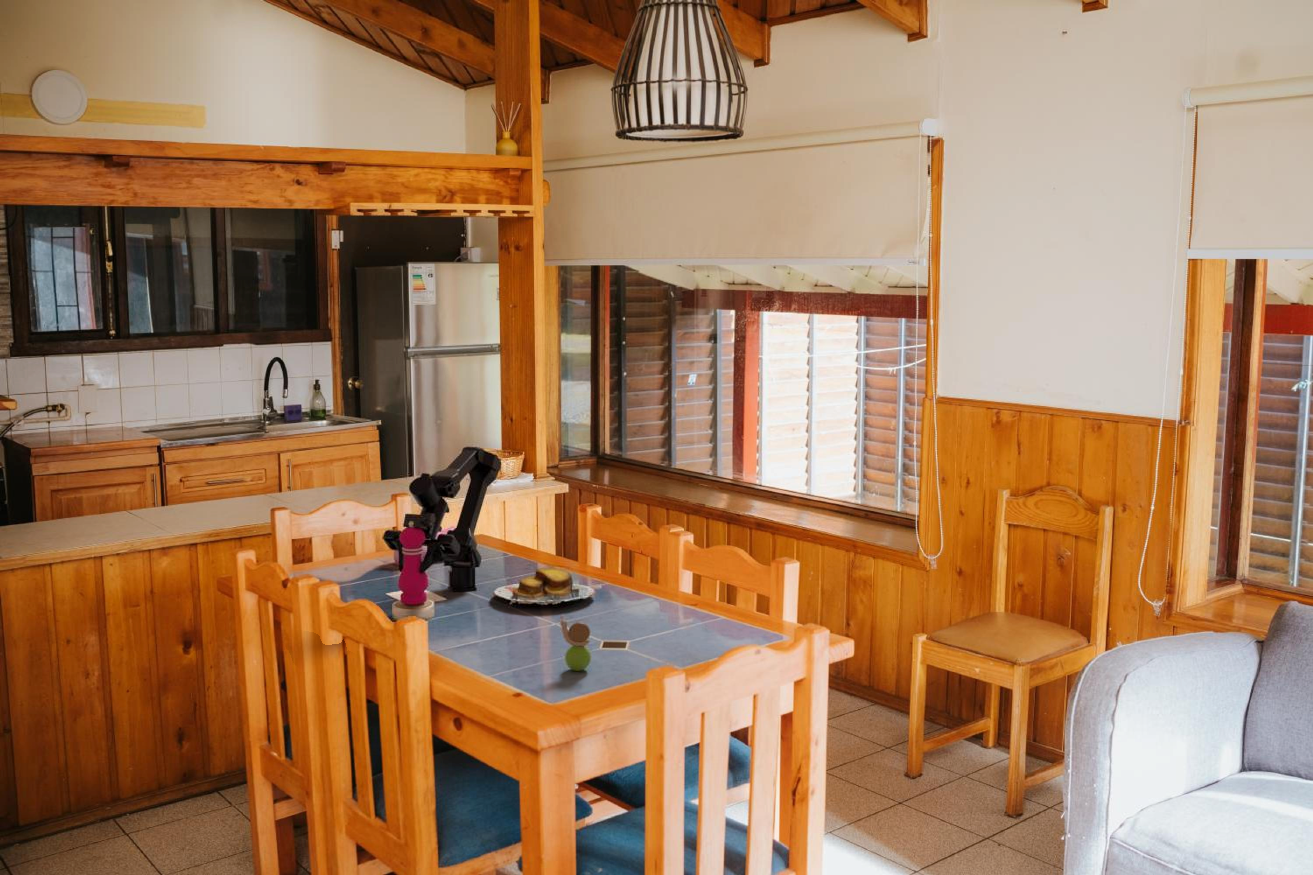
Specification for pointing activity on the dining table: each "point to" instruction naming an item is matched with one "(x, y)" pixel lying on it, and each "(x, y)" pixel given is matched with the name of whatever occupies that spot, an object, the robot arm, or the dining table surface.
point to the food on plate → (545, 588)
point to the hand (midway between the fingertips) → (410, 572)
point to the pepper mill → (412, 566)
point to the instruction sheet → (430, 595)
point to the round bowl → (413, 610)
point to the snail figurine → (576, 645)
